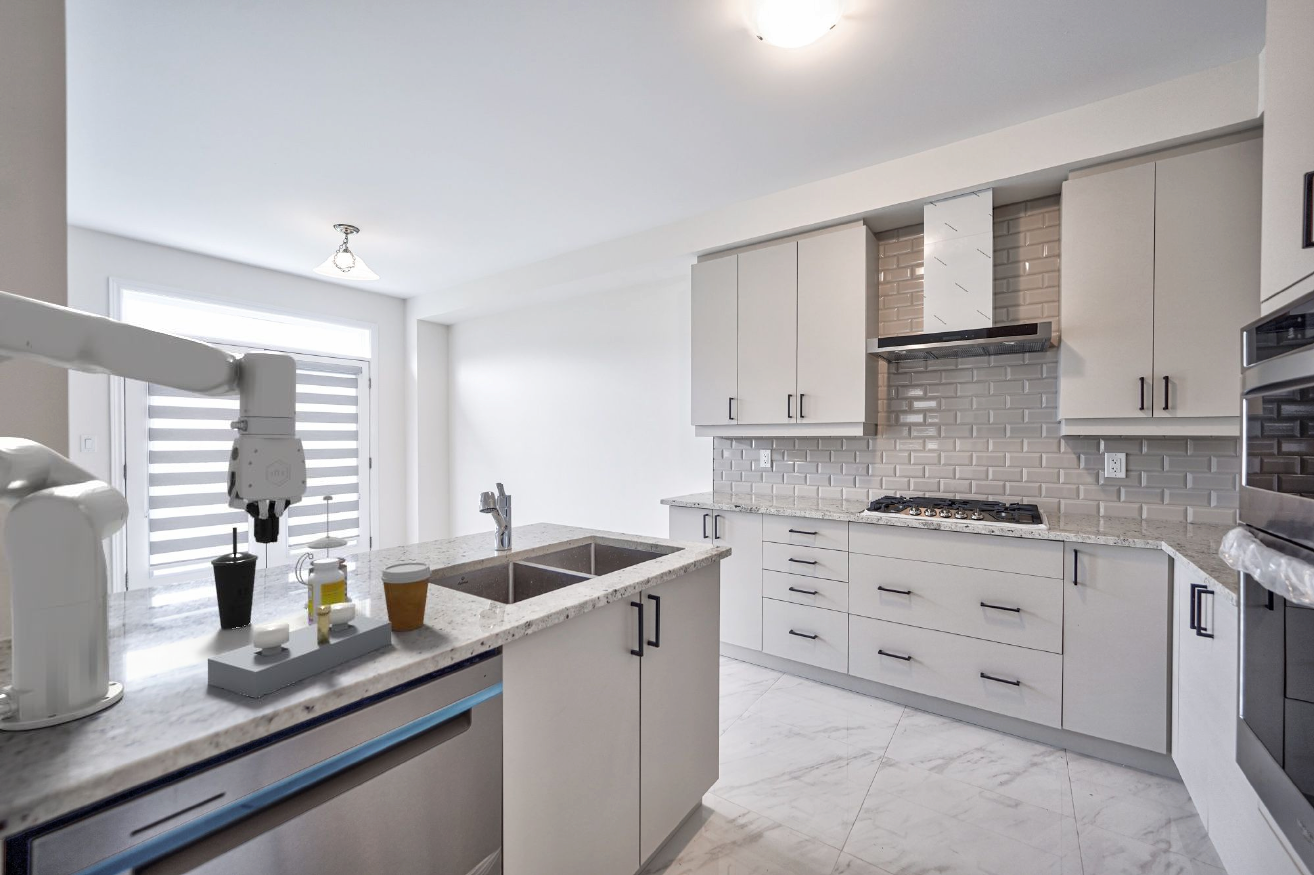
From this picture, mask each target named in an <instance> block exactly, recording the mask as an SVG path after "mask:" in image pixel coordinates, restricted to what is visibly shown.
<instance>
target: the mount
mask: <svg viewBox="0 0 1314 875" xmlns="http://www.w3.org/2000/svg"><path fill="white" fill-rule="evenodd" d="M387 644H388V645H390V644H392V630H391V622H390V621H389V620H383V619H378V618H373V617H368V616H363V615H358V614H355V619H353V620H352V621H349V622H348V629H345V630H342V631H339V632H334V631H332V624H330V641H329V642H328V643H325V644H317V623H316V624H313V625H310V624H309V625H307V626H305V627H304V626H303V627H300V628H298V629H295V630H291V631H289V641H288V642H286V643H284V644H282V645H281V652H280V653H277V654H274V655H271V656H268V657H265V656H262V648H255V647H254V646H253V643H252V644H248V645H246V646H243V647H240V648H236V649H234V650H231V651H227V652H223V653H221V654H219V655H214V656H212V657H209V658H207V685H209V684H210V685H209V686H212V687H216V686H217V688H219V689H222V688H224V689H223V690H226V691H229V690H231V691H230V692H232V691H233V693H235V692H237V693H236V694H238V693H241V694H240V695H242V694H245V695H248V696H253V697H254V698H253V699H255V698H257V697H259V696H262V697H264V696H265V695H264V694H267V695H269V694H270V693H269V692H271V693H273V692H272V691H274V690H276V691H278V690H277V689H279V688H281V689H283V688H282V687H283V686H286V687H288V686H289V685H288V684H291V685H293V684H294V683H293V682H296V683H298V682H300V681H299V680H301V681H302V679H303V680H305V679H308V678H311V677H312V676H315V675H317V674H320V673H322V672H325V671H328V670H329V669H332V668H334V667H337V666H339V665H341V663H342V664H344V663H346V662H349V661H352V660H354V659H356V658H359V657H361V656H364V655H366V654H368V652H369V653H371V652H373V651H375V650H378V649H380V648H383V647H385V645H386V646H388V645H387ZM382 646H383V647H382ZM297 681H298V682H297ZM292 683H293V684H292ZM287 685H288V686H287ZM279 690H280V689H279ZM274 692H275V691H274ZM268 693H269V694H268ZM245 695H244V696H245ZM263 695H264V696H263ZM248 696H247V697H248ZM259 698H260V697H259ZM257 699H258V698H257Z"/></svg>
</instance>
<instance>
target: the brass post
mask: <svg viewBox="0 0 1314 875" xmlns="http://www.w3.org/2000/svg"><path fill="white" fill-rule="evenodd" d="M330 612H331V605H321V606H317V607H316V614H317V644H325V643H328V642H329V641H330V615H329V613H330Z"/></svg>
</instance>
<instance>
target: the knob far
mask: <svg viewBox="0 0 1314 875" xmlns="http://www.w3.org/2000/svg"><path fill="white" fill-rule="evenodd" d="M329 615H330V624H332V631H334V632H339V631H342V630H345V629H348V622H349V621H352V620H353V619H355V615H356V607H355V603H353V602H350V603H337V604H332V605H331V612H330V613H329Z"/></svg>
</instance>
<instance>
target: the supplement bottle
mask: <svg viewBox="0 0 1314 875" xmlns="http://www.w3.org/2000/svg"><path fill="white" fill-rule="evenodd" d="M337 558H338V557H328V558H327V557H325V559H324V558H319V559H320V560H318V559H315V560H316V561H314V560H313V561H314V562H313V566H312V567H313V568H314V569H315V571H314V573H313V574H312V573H311V574H310V576H309V578H307V584H308V586H307V601H308V609H307V611H308V612H307V616H308V617H307V619H308V625H309V626H310V625H313V624H316V623H317V614H316V607H317V606H321V605H332V604H337V603H345V575H344V573H343V572H342V571H340V570H338V567H339V559H337Z"/></svg>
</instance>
